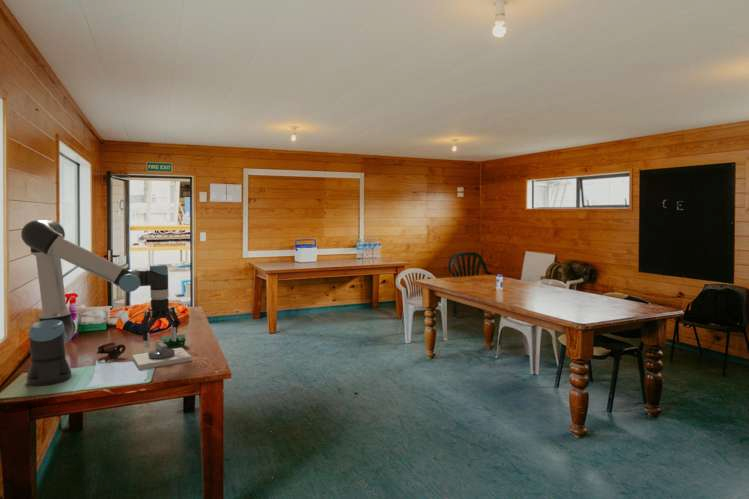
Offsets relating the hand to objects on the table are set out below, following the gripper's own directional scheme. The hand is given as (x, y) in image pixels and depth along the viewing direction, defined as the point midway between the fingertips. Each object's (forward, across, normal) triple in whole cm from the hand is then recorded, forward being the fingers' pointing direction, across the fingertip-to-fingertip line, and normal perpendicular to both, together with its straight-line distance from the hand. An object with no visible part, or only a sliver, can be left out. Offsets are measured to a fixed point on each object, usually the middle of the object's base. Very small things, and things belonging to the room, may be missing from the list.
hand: (160, 344), depth 221 cm
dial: (+5, 0, 0) cm, 5 cm away
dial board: (+8, 0, 0) cm, 8 cm away
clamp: (+8, -16, -13) cm, 22 cm away
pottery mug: (+8, +10, -23) cm, 26 cm away
